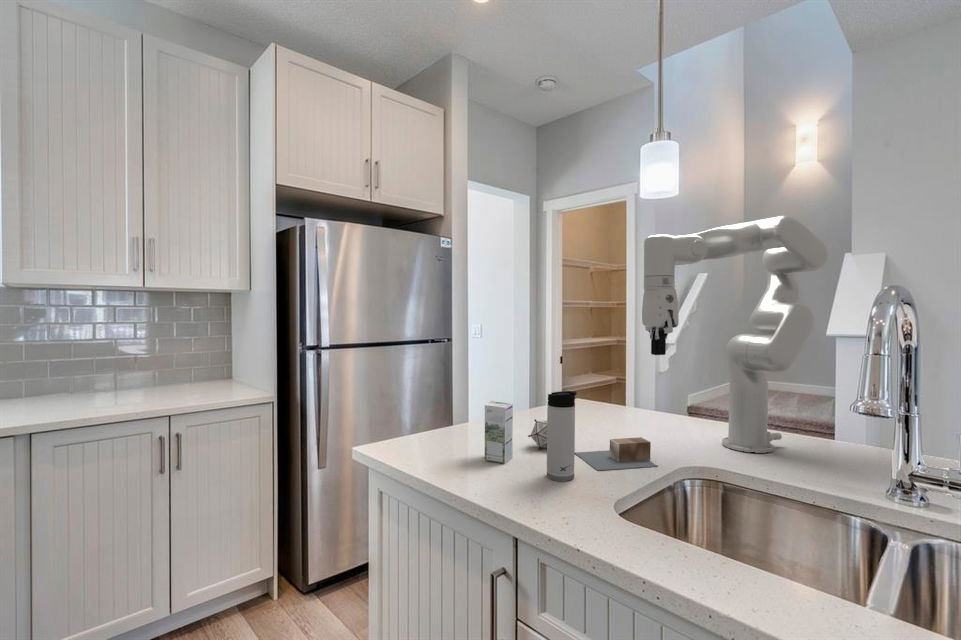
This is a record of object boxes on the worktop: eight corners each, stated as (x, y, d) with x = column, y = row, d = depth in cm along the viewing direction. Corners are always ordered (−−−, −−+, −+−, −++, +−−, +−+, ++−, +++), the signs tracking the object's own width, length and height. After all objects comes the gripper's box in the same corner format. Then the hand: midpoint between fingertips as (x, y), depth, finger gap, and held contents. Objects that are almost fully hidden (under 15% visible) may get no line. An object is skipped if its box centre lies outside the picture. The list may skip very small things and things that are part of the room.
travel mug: (569, 484, 108) (570, 394, 107) (542, 478, 112) (543, 391, 111) (579, 475, 113) (580, 389, 113) (553, 470, 117) (554, 387, 116)
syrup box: (513, 457, 126) (513, 401, 126) (504, 464, 121) (505, 406, 120) (493, 454, 129) (493, 400, 128) (483, 461, 123) (483, 404, 123)
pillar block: (641, 437, 129) (609, 439, 127) (650, 442, 124) (618, 444, 123) (640, 454, 129) (609, 456, 127) (650, 459, 125) (617, 461, 123)
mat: (629, 449, 134) (629, 449, 134) (657, 466, 120) (657, 465, 120) (574, 453, 130) (574, 452, 130) (597, 471, 116) (597, 470, 116)
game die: (550, 463, 133) (561, 440, 127) (521, 450, 135) (531, 427, 129) (558, 440, 140) (568, 417, 134) (530, 428, 142) (539, 405, 136)
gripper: (690, 282, 119) (689, 357, 120) (655, 284, 134) (655, 351, 135) (662, 282, 118) (661, 358, 119) (630, 284, 132) (630, 352, 133)
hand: (658, 354), depth 127 cm, fingers closed
